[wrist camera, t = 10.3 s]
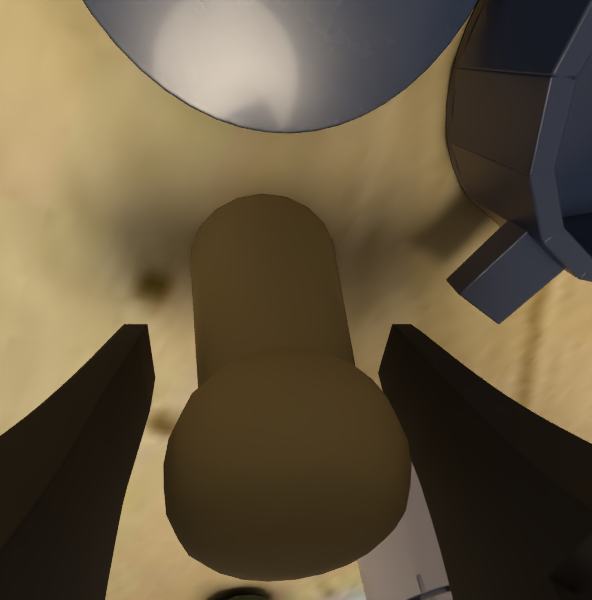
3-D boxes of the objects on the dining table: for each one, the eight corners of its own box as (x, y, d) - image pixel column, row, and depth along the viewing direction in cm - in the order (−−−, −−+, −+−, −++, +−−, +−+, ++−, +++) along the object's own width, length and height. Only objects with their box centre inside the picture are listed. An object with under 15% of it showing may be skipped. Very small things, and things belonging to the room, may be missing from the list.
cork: (242, 161, 14) (251, 390, 4) (363, 247, 16) (527, 504, 7) (163, 283, 16) (62, 600, 7) (280, 341, 18) (322, 629, 9)
